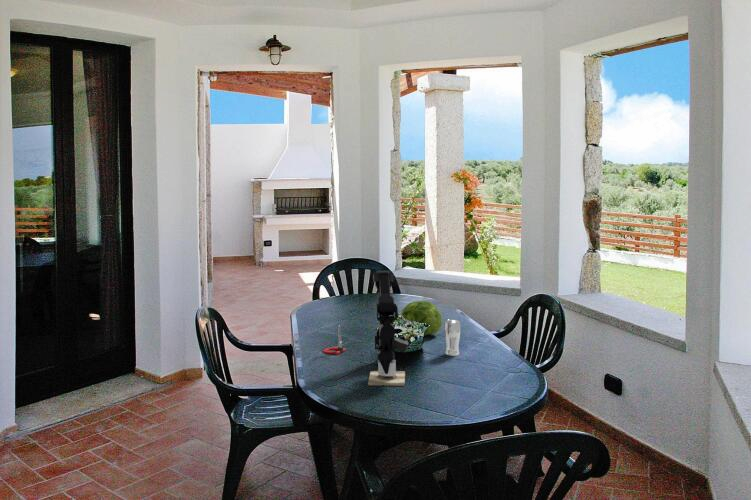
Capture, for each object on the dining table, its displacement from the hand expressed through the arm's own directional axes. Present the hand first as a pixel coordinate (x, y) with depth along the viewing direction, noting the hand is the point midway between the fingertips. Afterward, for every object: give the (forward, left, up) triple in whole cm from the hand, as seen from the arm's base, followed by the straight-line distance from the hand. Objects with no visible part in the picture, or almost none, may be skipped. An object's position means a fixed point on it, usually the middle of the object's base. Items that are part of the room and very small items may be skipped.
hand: (387, 370), depth 240 cm
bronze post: (0, 0, -4) cm, 4 cm away
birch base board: (0, 0, -4) cm, 4 cm away
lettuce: (-67, +13, -4) cm, 68 cm away
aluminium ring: (0, 0, -1) cm, 1 cm away
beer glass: (-34, +28, -4) cm, 44 cm away
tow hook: (-37, -26, -4) cm, 45 cm away
